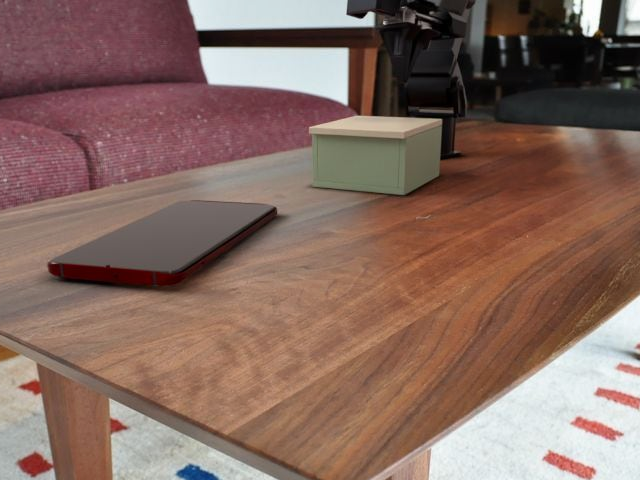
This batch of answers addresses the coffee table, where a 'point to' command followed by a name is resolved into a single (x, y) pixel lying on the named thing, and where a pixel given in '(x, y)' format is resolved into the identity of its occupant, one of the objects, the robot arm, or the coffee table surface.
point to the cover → (376, 126)
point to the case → (376, 162)
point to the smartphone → (164, 243)
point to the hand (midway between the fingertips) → (402, 82)
